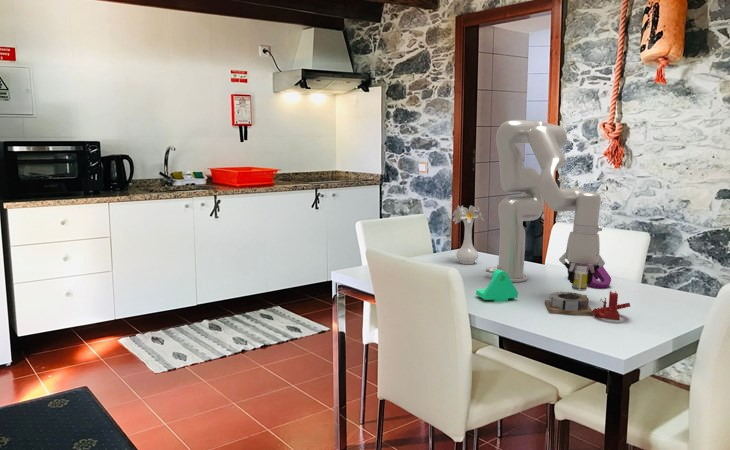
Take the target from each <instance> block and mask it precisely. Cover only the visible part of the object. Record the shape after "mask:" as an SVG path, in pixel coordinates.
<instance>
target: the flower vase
mask: <svg viewBox="0 0 730 450" xmlns="http://www.w3.org/2000/svg"><path fill="white" fill-rule="evenodd" d="M451 217H453V218H452V222H454V225H456V224H458V223H461V221H462V222H463V224H464V234H463V235H464V237H463V243H462V245H461V246H460V248H458V250H457V252H456V254H455V255H456V256H455V257H456V258H457V260H458V261H459V263H460V264H463V265H473V264H475V261H477V260H478V258H479V252H478V251H477V249H475V248H474V245H473V237H472V236H473V231H472V230H473V225H474V221H475V220H476V221H477V220H479V219H480V220H481V221H482V222H485V219H484V217H483V215H482V211H481V209H480V207H479V206H477V208H476V206H473V205H469V207H468V208H467V207H464V205H461V206H460V205H457V207H456V209H454V211H453V213H452V214H451Z"/></svg>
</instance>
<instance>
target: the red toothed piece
mask: <svg viewBox="0 0 730 450" xmlns="http://www.w3.org/2000/svg"><path fill="white" fill-rule="evenodd" d="M608 295H609V297H608V302H607V297H604V299H602V298H603V297H601V298H600V300H599V301H600V302H602V303H603V305H602V307H601V306H600V307H596V308H594V309H592V311H593V317H594V319H604V320H612V321H620V320H621V319H620V318H621V315H620V311H618V310H622V309H625V308H629V307H631V303H630V302H627V303H620V304H618V297H619V294H618V292H617V291H616V290H615V292H612V291H609V294H608ZM607 303H608V306H607Z"/></svg>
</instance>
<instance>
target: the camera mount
mask: <svg viewBox="0 0 730 450" xmlns="http://www.w3.org/2000/svg"><path fill="white" fill-rule="evenodd" d="M500 276H501V277H500ZM475 291H476V292H475V295H476V296H478V297H480V298H481V299H483V300H484V301H488V300H491V301H493V302H494V303H495V302H496V303H497V302H499V303H500V302H508V301H509V299H517V298H519V292H518V290H517V289H516V287H515V285H514V282H512V281H511V280H510V278H509V276H508V274H507V273H506V272H504V271H502V270H495V271H494V272H493V273H492V274H491V281H490V282H489V283H488V285H487V287H486V288H478V289H476V290H475Z"/></svg>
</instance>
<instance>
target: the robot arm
mask: <svg viewBox="0 0 730 450" xmlns="http://www.w3.org/2000/svg"><path fill="white" fill-rule="evenodd" d="M567 141H568V136H567V133H566V130H565V129H564V128H563V127H562V126H560V125H557V124H552V123H548V122H545V121H542V120H530V119H528V120H527V119H511V120H507V121H505V122H502V123H501V124H500V126H499V127H497V131H496V134H495V143H496V145H495V146H496V149H497V153H498V160H499V175H500V186H501V189H502V190H503V192H505V193H510V194H518V193H519V194H522V195H519V196H517V195H516V196H508V197H504V198H503V199H502V200H501V201H500V202H499V203H498V207H497V210H498V213H497V214H498V218H499V244H498V246H499V247H498V248H499V249H498V264H497V265H496V266H494V267H490V266H486V267H485V273H490V274H491V273H492V274H493V272H494V271H495V270H502V271H504V272H506V273H507V274H508V276H509V278H510V280H511V281H512V283H521V282H526V281H528V275H527V274H525V273H524V271H525V255H526V253H525V251H526V231H525V227H524V226H523V225H524V224H523V222H527V221H535V220H538V219H539V218H540V217H541V216H542V214H543V208H544V204H543V203H544V202H545V204H546V206H547V207H548V208H549V209H550V210H552V211H554V212H572V211H573V212H574V217H573V226H572V227H573V228H572V231H570V232H569V235H568V238H567V242H566V243H567V244H566V248H565V249H566V250H565V252H564V253H563V254H562V255H561V256H560V257H559V258H558V261H559V262H560V263H561V265H563V266H564V267H566V269H567V275H568V276H567V280H568V281H569V282H570V283H569V284H572V283H573V279H574V271H573V268H574V266H575V263H580V264H588V266H589V270H588V281H587V285H588V284H589V285H590V282H592V278H593V273H594V272H595V271H596V270H597V269H598V268H599V267H601V266H603V267H604V265H605V264H606V262H605V261H604V259H603V257H602V256H601V255H600V251H601V250H600V247H601V246H600V243H601V242H600V235H599V232H603V227H602V226H599V220H600V219H599V218H600V209H601V199H602V198H601V195H600V193H598V192H594V191H588V190H587V191H586V190H584V189H582V188H577V187H576V188H570V187H567V188H560V187H559V185H558V184H557V181H556V179H555V172H557V171H558V170H560V169H561V168H562V167H563V166H564V164H565V162H566V158H565V156H564V154H563V151H561V149H562V148H564V147H565V146H566V144H567ZM517 144H529V145H530V148H531V150H532V153H533V154H534V156H535V158H536V161H537V162H538V165H539V166H540V168H541V170H540V173H539V172H538V170H537V169H535V168H533V167H524V165H523V154H522V152H521V151H520V148H519V147H518V146H517ZM543 200H544V201H543ZM566 260H567V261H566ZM569 262H570V263H569ZM598 262H599V263H598ZM593 264H595V265H593ZM568 270H569V272H568ZM500 277H501V276H500ZM589 285H588V286H589Z"/></svg>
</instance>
